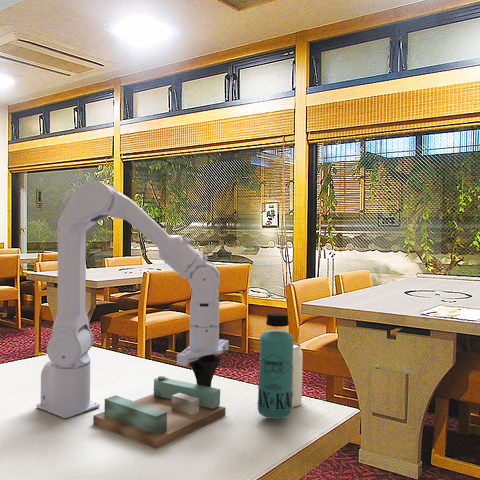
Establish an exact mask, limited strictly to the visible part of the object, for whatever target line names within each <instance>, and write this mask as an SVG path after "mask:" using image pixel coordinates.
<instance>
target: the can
mask: <svg viewBox="0 0 480 480" xmlns="http://www.w3.org/2000/svg"><path fill="white" fill-rule="evenodd" d="M301 346H302V345H301V344H300V343H298V342H294V341H293V368H294V370H293V377H292V379H293V380H292V382H293V383H292V394H293V399H292V404H291V405H292V406H291V409H294V408H297V407H299V406H300V405H301V404H302V401H303V400H302V394H303V361H304V360H303V355H304V354H303V350H302V348H301Z"/></svg>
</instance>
